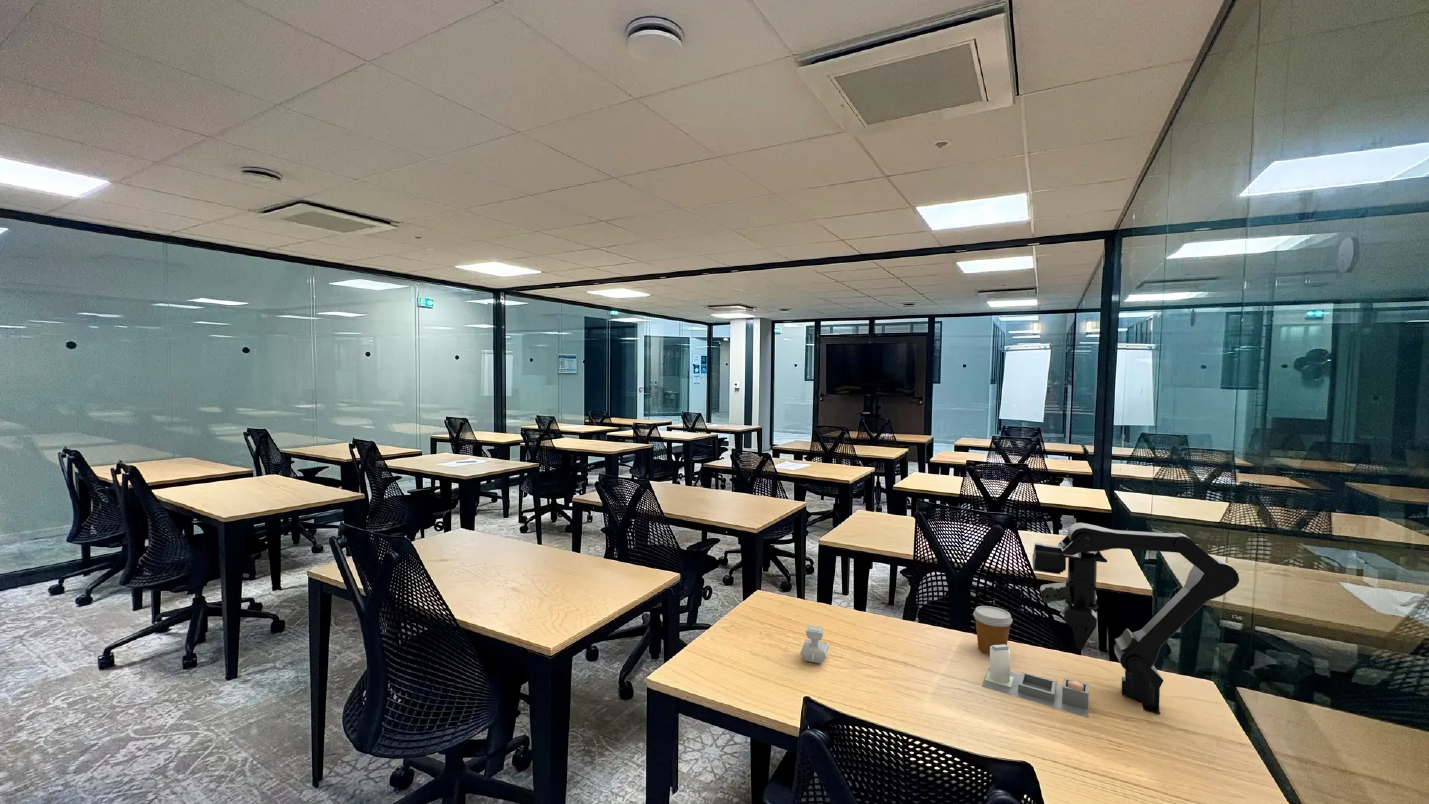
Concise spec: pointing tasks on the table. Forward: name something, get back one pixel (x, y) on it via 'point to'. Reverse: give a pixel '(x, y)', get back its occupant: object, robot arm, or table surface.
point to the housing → (1043, 691)
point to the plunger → (1075, 685)
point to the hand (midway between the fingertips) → (1080, 641)
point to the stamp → (814, 645)
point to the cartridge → (1000, 663)
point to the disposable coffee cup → (991, 627)
